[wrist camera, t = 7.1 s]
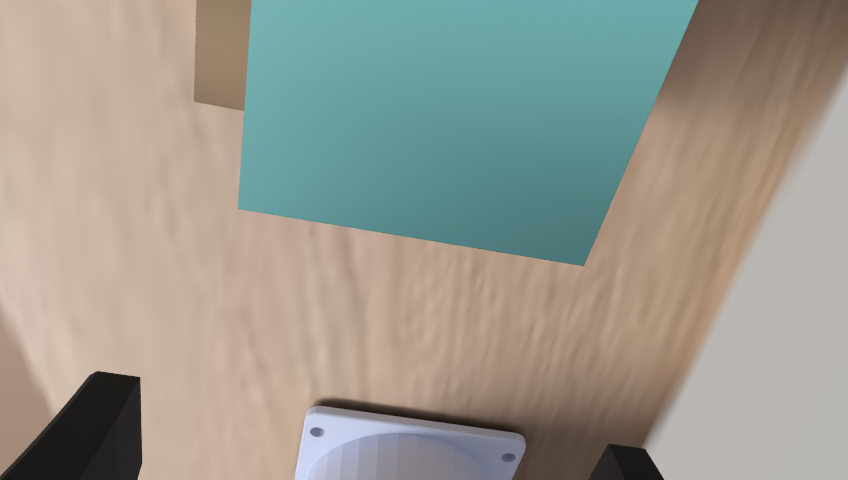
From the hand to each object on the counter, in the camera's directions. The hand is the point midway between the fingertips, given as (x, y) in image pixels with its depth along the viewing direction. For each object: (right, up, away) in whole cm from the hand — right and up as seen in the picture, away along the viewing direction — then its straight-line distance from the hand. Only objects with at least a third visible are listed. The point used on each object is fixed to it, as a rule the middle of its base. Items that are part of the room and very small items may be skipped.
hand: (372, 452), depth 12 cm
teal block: (+1, +9, +2) cm, 9 cm away
